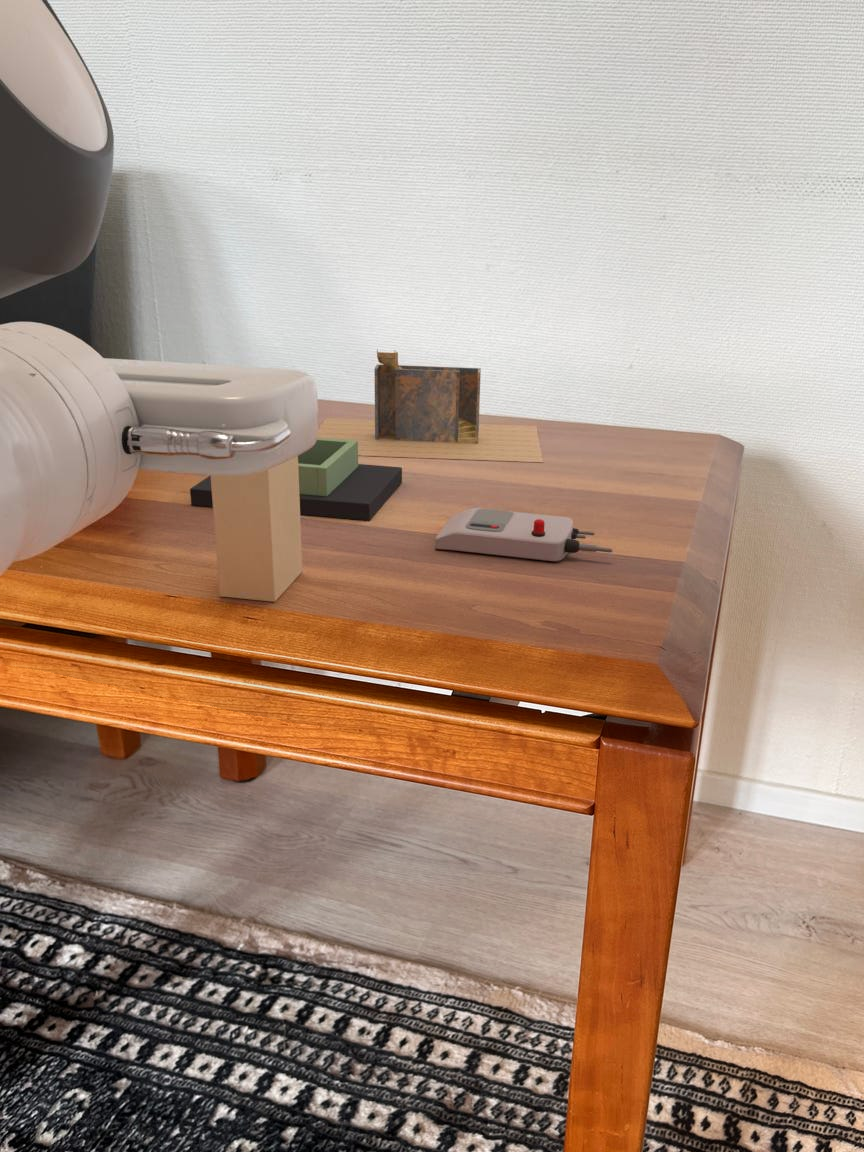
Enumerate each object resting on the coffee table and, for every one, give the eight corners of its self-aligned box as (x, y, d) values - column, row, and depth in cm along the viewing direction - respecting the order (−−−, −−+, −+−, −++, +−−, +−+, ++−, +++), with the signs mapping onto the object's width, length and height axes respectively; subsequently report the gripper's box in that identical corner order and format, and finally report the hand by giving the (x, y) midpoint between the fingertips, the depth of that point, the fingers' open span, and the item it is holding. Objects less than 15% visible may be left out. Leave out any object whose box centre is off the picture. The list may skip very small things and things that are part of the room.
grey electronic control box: (433, 522, 87) (434, 487, 86) (617, 541, 84) (620, 506, 83) (412, 547, 81) (412, 511, 80) (609, 569, 78) (612, 531, 77)
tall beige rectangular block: (219, 596, 70) (208, 454, 66) (251, 566, 76) (242, 433, 72) (275, 602, 70) (267, 459, 66) (302, 571, 75) (297, 437, 71)
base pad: (190, 505, 89) (187, 460, 87) (242, 469, 99) (239, 428, 98) (369, 520, 87) (369, 474, 85) (402, 482, 97) (402, 441, 96)
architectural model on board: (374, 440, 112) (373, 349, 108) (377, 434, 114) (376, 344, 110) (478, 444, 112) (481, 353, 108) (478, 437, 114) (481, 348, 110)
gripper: (258, 373, 40) (354, 326, 52) (-211, 345, 43) (-13, 307, 55) (267, 527, 42) (357, 448, 55) (-175, 491, 45) (6, 423, 58)
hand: (169, 377), depth 55 cm, fingers open, 8 cm apart
